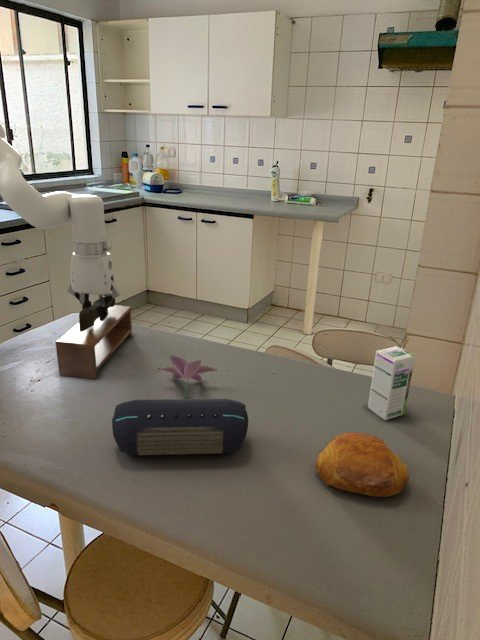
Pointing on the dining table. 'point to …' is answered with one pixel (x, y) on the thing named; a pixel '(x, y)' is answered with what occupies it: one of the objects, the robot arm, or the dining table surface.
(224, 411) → the portable speaker
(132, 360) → the dining table surface
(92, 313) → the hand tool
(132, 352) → the dining table surface
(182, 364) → the lily
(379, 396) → the syrup box
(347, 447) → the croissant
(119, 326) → the shelf stand
